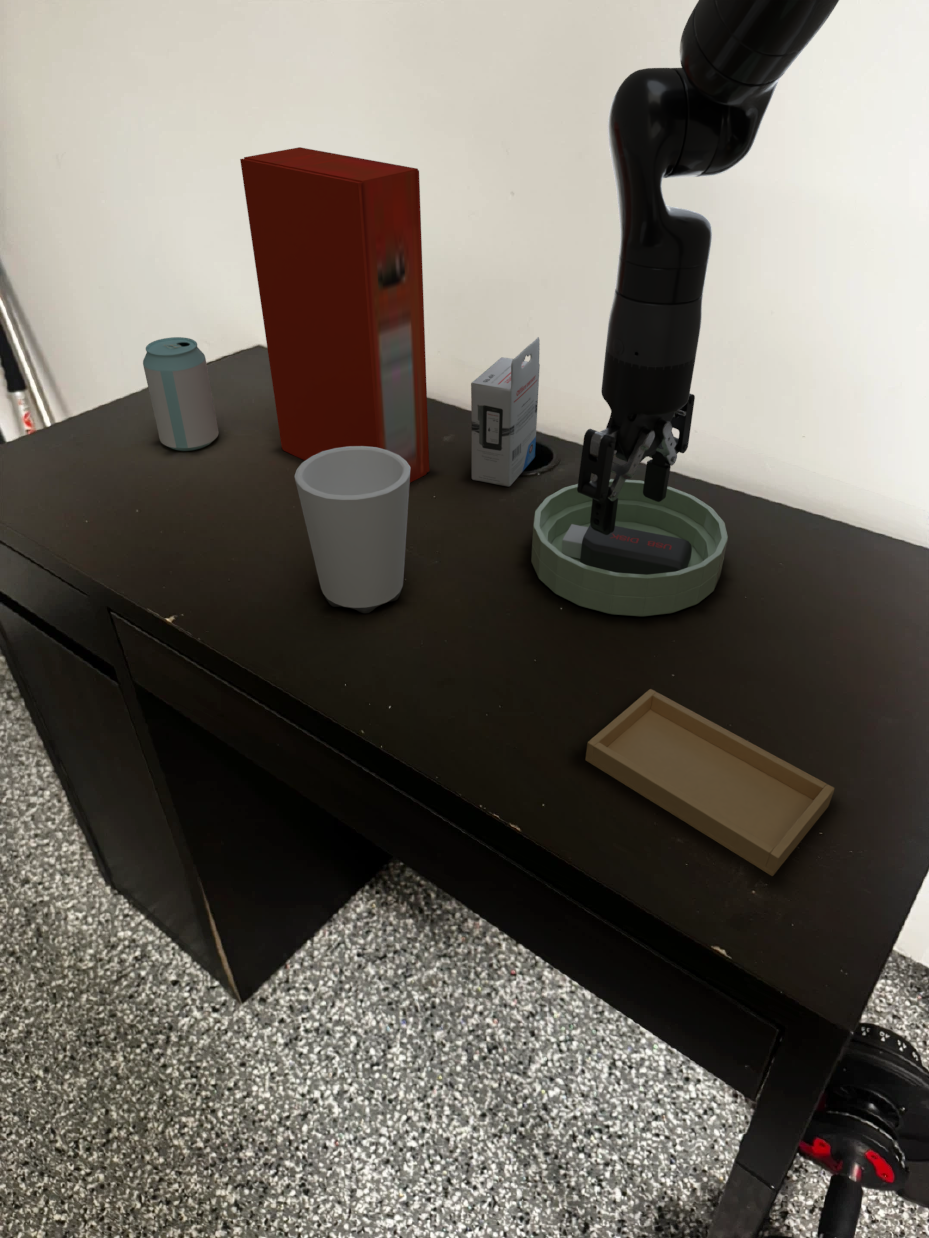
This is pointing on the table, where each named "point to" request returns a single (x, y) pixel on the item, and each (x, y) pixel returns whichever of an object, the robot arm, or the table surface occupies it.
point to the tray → (711, 779)
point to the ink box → (505, 417)
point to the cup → (356, 523)
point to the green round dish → (628, 590)
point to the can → (180, 393)
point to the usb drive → (627, 550)
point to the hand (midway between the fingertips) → (628, 514)
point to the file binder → (341, 300)
